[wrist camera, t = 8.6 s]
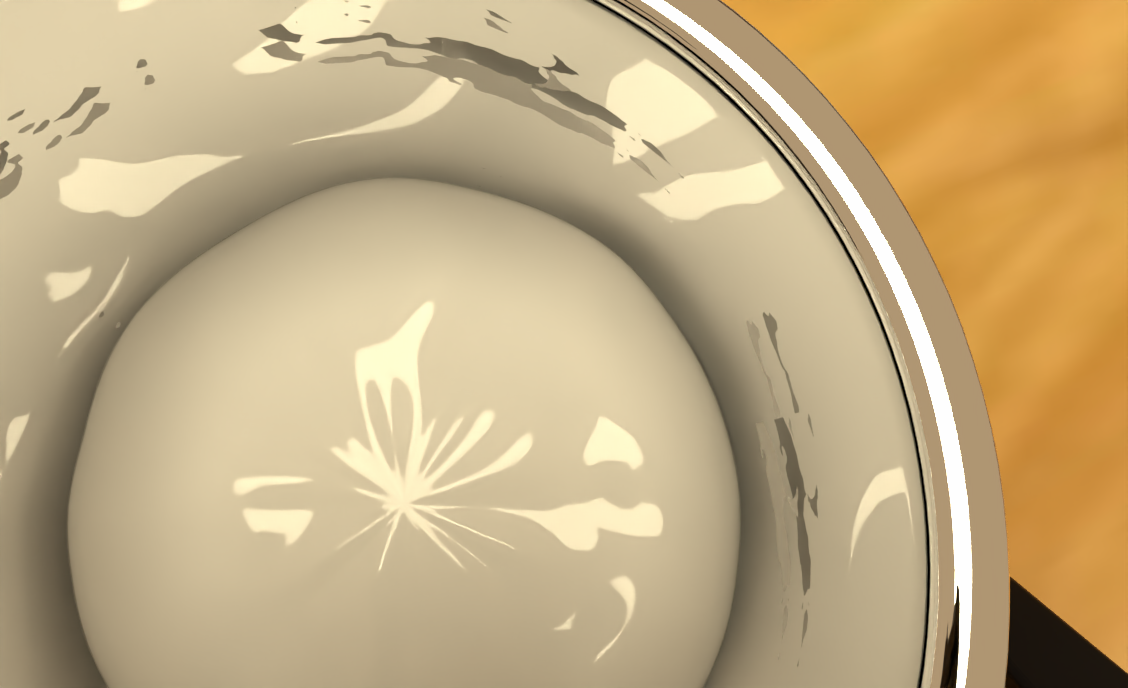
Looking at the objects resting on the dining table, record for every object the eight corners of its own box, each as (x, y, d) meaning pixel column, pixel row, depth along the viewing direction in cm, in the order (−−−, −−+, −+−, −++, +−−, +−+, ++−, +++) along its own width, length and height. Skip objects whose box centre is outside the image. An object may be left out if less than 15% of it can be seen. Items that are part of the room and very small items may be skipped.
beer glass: (556, 300, 19) (657, -357, 4) (680, 574, 18) (1378, 963, 3) (279, 416, 18) (-778, 105, 3) (392, 710, 17) (-431, 2051, 2)
